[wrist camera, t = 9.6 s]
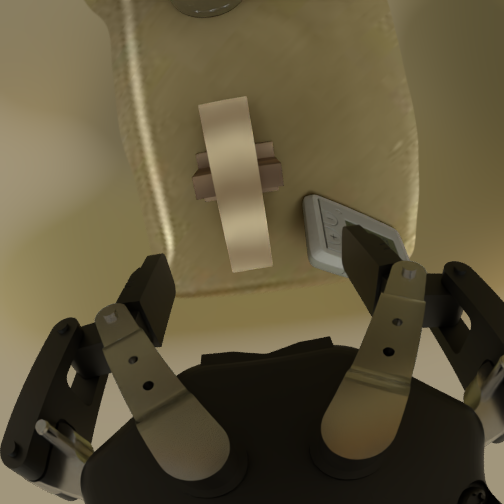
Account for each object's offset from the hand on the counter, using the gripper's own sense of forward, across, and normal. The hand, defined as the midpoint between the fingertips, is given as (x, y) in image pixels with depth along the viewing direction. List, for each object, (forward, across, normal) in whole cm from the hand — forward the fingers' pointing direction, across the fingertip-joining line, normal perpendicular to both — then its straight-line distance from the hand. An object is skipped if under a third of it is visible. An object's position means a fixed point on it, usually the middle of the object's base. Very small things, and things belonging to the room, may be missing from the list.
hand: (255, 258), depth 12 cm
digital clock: (+23, -13, +10) cm, 28 cm away
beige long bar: (+17, +1, 0) cm, 17 cm away
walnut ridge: (+22, +1, 0) cm, 23 cm away
